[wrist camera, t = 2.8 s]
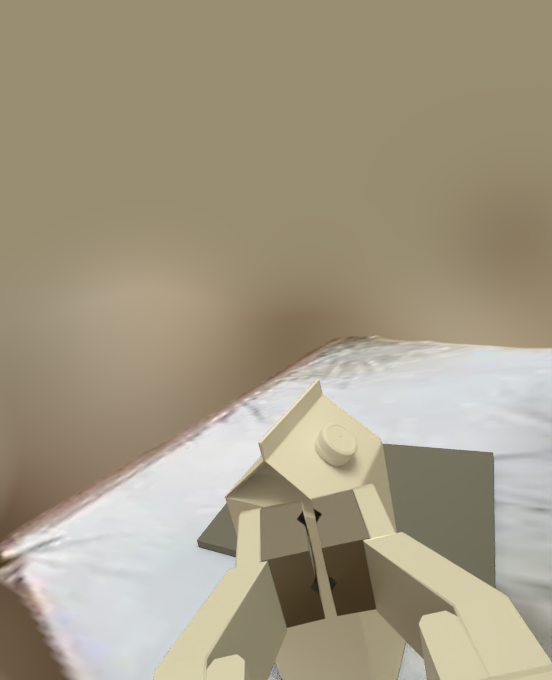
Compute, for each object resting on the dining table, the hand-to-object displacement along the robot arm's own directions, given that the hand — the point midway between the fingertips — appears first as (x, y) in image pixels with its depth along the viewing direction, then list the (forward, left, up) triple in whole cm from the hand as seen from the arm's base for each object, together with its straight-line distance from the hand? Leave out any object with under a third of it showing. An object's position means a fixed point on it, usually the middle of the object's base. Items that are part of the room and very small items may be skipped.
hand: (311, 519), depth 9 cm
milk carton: (-11, -6, -22) cm, 25 cm away
